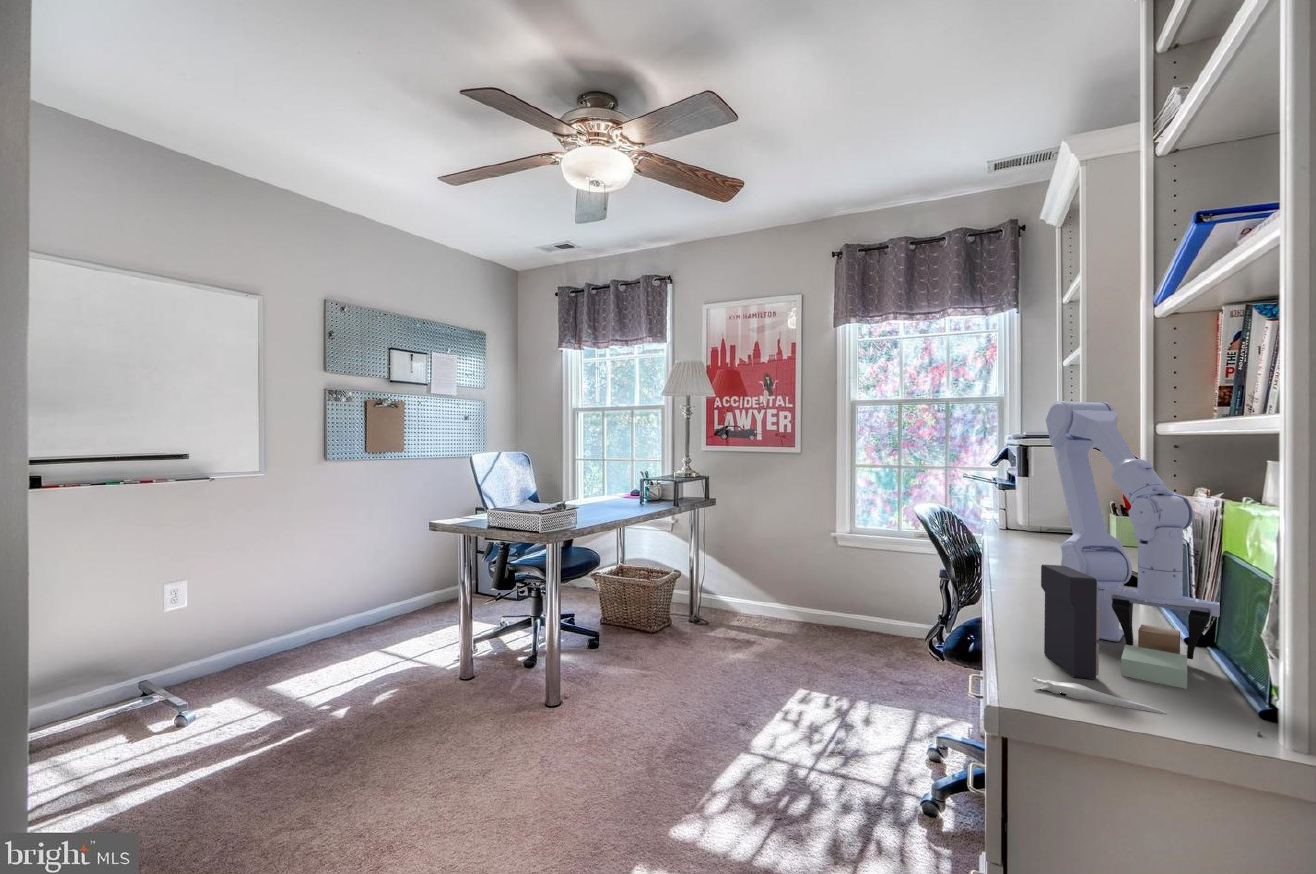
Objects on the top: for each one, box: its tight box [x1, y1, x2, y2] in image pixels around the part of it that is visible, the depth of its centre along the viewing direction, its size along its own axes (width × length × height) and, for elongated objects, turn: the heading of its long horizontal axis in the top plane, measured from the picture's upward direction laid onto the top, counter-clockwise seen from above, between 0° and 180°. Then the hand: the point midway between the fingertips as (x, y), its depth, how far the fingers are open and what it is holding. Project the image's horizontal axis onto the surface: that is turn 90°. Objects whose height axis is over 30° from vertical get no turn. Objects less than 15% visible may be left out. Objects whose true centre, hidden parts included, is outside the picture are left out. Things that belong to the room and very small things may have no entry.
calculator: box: [1040, 564, 1100, 680], centre depth 97 cm, size 11×4×15 cm, turn 168°
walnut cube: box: [1137, 624, 1181, 654], centre depth 101 cm, size 5×5×5 cm
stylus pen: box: [1031, 676, 1168, 715], centre depth 84 cm, size 15×3×2 cm, turn 57°
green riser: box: [1120, 644, 1188, 690], centre depth 95 cm, size 9×8×3 cm
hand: (1159, 651), depth 101 cm, fingers open, 7 cm apart
